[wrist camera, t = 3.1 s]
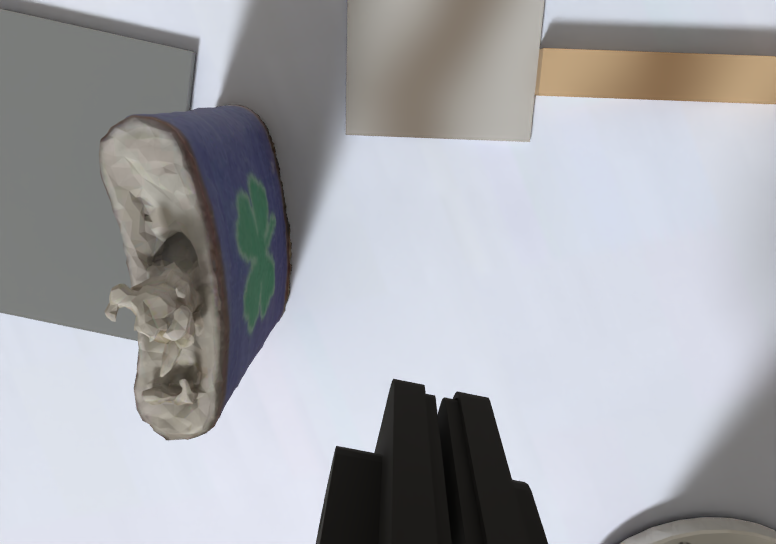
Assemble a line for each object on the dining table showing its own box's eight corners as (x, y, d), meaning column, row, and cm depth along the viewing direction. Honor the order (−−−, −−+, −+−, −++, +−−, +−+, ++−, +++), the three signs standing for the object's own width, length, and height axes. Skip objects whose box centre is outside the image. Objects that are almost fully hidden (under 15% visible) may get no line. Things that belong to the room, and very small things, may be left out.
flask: (204, 105, 23) (41, 121, 13) (280, 102, 23) (178, 117, 13) (229, 329, 26) (112, 490, 15) (298, 327, 26) (225, 490, 15)
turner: (825, 8, 21) (844, 5, 20) (792, 151, 23) (808, 154, 22) (348, -8, 22) (345, -12, 21) (346, 134, 23) (343, 136, 22)
